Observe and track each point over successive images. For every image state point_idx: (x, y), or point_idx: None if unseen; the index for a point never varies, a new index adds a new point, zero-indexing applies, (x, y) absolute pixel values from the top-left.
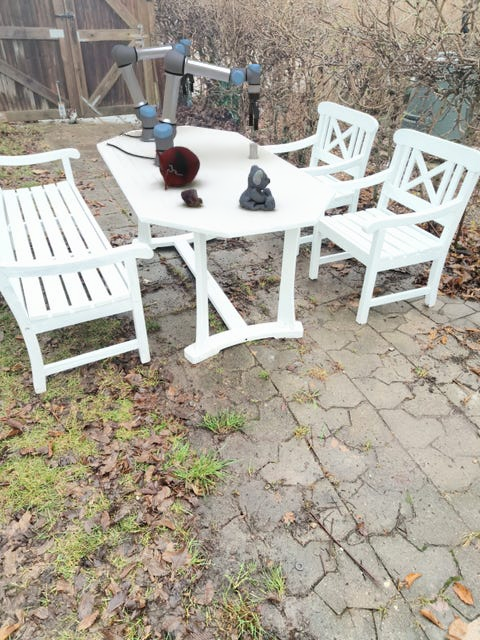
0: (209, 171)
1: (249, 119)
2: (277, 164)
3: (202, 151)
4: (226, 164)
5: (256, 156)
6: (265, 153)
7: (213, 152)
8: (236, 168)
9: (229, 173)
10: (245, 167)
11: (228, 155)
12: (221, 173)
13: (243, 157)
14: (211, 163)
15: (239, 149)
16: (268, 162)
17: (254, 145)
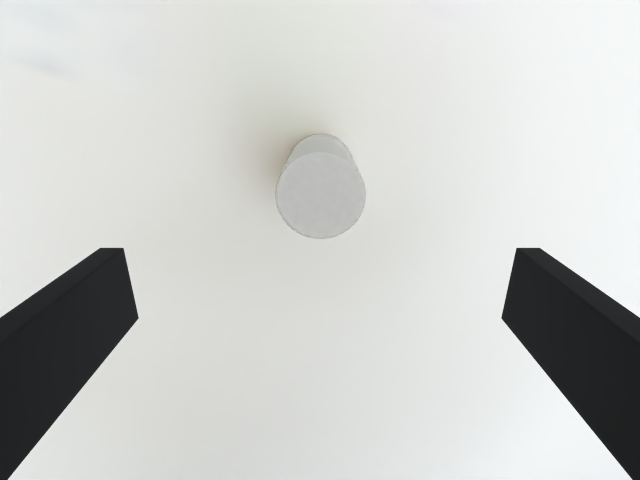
0: (526, 461)
1: (59, 408)
2: (605, 9)
3: (101, 440)
4: (432, 371)
5: (348, 150)
6: (200, 13)
7: (130, 392)
8: None
9: None
10: None
11: (220, 324)
12: None
13: (296, 241)
14: (381, 434)
15: (44, 218)
16: (507, 78)
17: (364, 196)
